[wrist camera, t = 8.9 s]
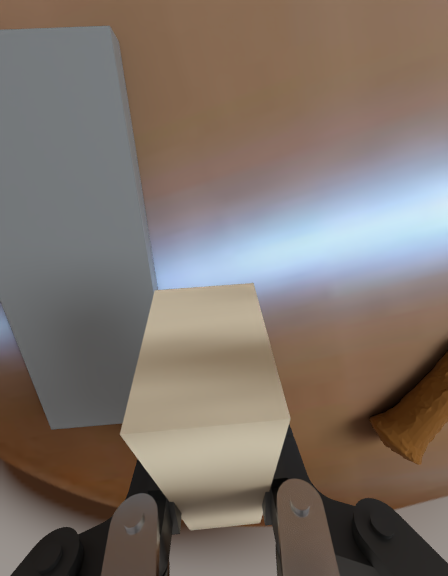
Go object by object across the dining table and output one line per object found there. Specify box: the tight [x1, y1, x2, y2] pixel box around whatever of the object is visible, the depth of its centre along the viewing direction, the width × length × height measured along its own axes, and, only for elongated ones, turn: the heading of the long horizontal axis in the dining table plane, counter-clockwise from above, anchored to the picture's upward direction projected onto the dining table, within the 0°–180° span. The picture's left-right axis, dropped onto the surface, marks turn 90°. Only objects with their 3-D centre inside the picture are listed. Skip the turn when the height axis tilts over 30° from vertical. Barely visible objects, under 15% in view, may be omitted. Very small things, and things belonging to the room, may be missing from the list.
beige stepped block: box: [120, 283, 290, 530], centre depth 11 cm, size 15×6×4 cm, turn 4°
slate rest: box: [0, 26, 158, 430], centre depth 13 cm, size 20×8×1 cm, turn 3°
